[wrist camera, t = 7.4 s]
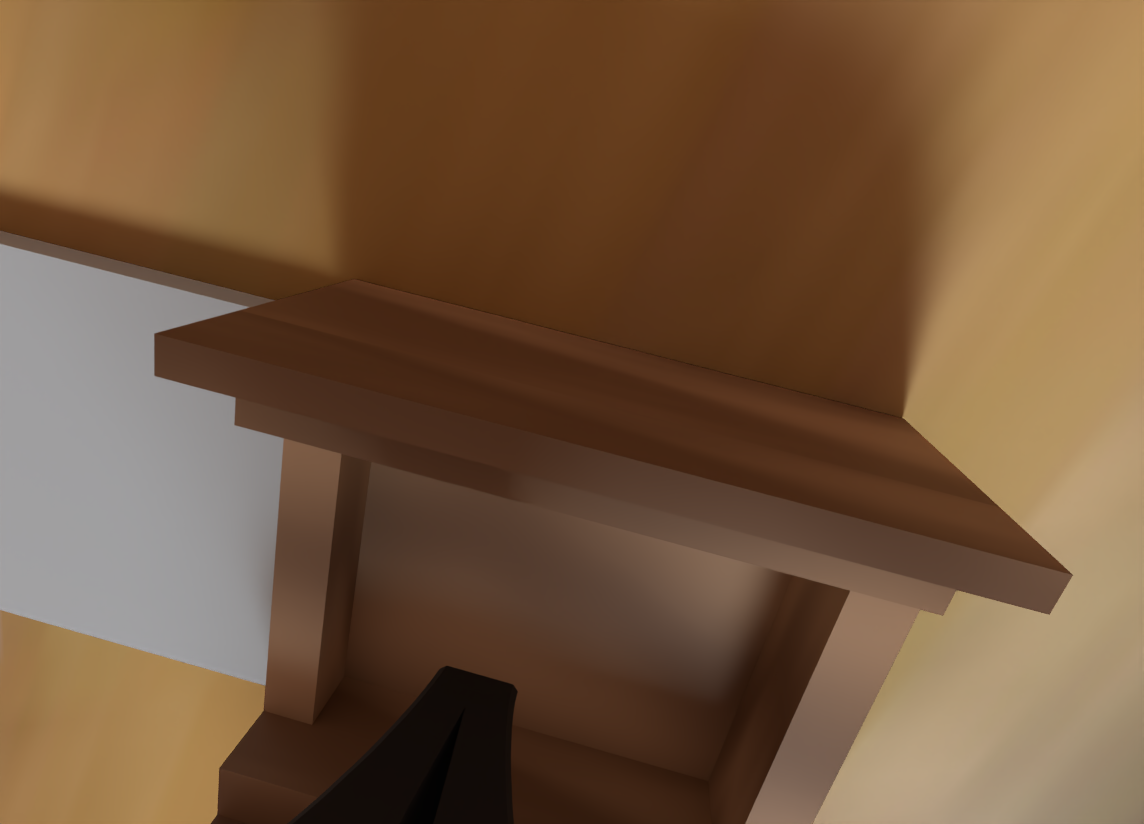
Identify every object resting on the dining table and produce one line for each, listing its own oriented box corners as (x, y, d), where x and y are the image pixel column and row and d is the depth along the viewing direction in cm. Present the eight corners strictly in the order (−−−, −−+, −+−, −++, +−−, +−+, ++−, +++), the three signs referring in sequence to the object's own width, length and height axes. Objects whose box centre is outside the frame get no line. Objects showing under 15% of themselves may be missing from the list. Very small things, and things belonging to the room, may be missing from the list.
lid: (319, 654, 18) (291, 692, 17) (-5, 562, 19) (-60, 592, 17) (355, 313, 15) (323, 326, 13) (-43, 212, 15) (-115, 214, 14)
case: (727, 820, 17) (757, 1107, 12) (309, 700, 18) (156, 920, 12) (903, 418, 13) (1072, 575, 8) (354, 279, 14) (154, 333, 8)
